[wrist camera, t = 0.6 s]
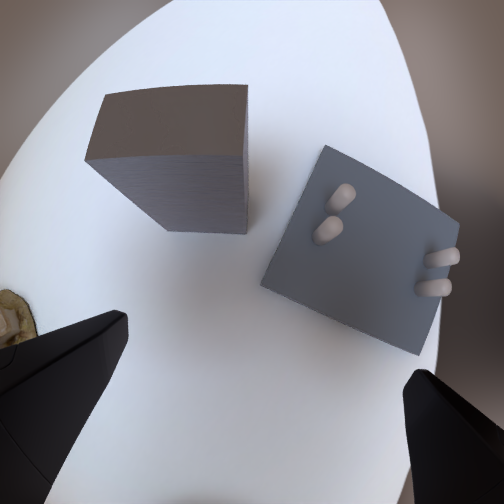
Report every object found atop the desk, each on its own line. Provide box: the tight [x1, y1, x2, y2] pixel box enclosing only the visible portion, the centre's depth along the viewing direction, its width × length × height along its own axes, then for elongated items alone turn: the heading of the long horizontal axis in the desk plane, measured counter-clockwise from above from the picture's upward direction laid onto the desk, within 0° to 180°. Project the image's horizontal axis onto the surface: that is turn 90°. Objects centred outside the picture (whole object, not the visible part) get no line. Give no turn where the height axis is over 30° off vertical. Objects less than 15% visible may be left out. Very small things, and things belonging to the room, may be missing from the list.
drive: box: [84, 84, 249, 234], centre depth 16 cm, size 3×6×12 cm, turn 87°
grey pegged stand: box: [260, 145, 460, 356], centre depth 19 cm, size 12×14×5 cm
